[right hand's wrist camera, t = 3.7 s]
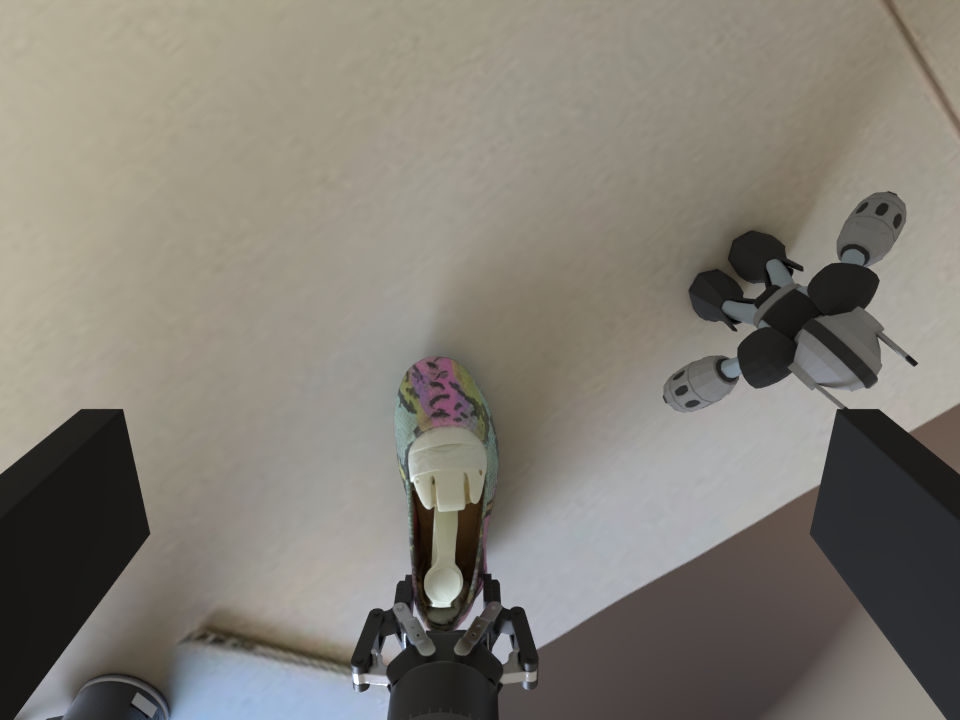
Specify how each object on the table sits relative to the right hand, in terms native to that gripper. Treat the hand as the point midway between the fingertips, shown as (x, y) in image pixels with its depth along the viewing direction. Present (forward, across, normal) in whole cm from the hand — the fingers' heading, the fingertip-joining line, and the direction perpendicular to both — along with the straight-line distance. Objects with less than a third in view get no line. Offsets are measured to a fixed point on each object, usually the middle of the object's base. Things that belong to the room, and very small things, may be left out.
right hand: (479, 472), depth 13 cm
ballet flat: (+40, -3, -25) cm, 47 cm away
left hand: (+36, -3, -33) cm, 49 cm away
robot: (+41, +20, -7) cm, 46 cm away
